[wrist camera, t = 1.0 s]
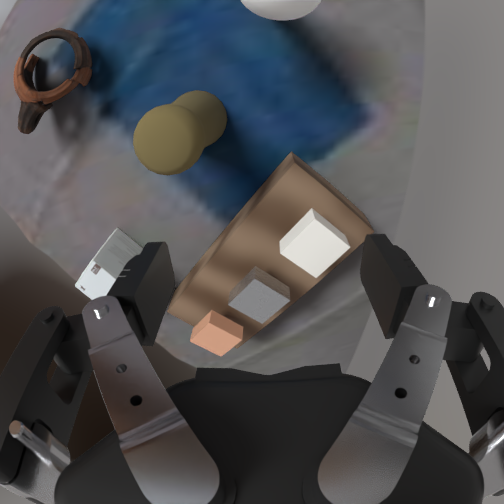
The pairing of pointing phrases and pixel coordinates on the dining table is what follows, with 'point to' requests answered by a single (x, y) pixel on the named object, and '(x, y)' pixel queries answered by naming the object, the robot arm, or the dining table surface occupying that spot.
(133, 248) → the skincare box
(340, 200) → the key panel
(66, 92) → the pottery mug
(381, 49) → the dining table surface
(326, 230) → the off-white key
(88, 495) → the robot arm
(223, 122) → the olive rounded waisted cylinder
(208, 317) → the terracotta key
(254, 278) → the grey key
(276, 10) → the lightbulb
